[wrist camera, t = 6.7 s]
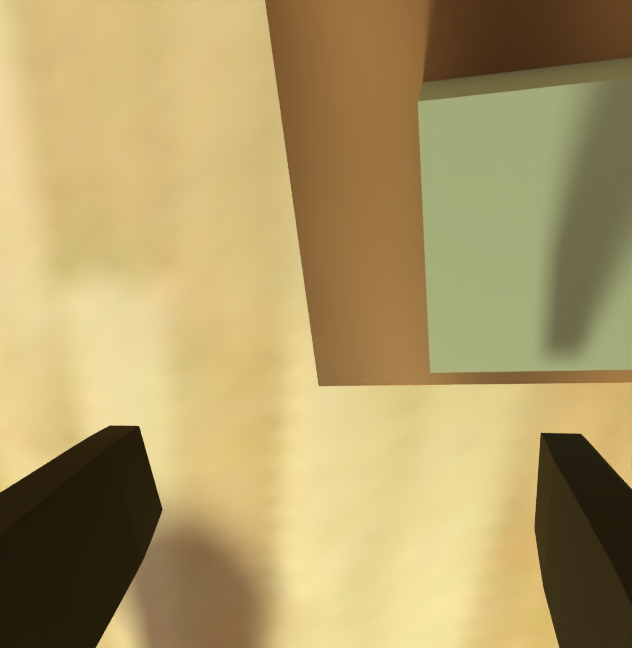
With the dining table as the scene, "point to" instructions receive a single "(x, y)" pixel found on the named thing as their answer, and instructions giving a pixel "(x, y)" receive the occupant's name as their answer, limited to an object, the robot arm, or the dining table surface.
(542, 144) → the cube
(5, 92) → the dining table surface
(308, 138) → the base block
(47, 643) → the robot arm
